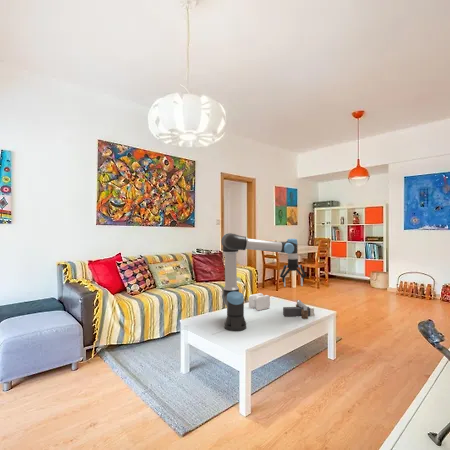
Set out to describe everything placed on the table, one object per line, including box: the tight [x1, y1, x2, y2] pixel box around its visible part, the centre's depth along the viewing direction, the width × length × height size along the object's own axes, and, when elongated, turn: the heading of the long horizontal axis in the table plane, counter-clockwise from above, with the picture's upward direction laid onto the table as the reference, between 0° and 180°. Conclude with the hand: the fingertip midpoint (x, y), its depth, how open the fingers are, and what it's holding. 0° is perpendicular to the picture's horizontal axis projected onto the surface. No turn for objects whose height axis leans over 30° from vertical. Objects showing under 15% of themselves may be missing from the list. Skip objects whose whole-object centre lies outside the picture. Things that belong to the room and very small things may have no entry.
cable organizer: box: [248, 292, 271, 311], centre depth 241 cm, size 15×11×12 cm
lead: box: [282, 306, 315, 318], centre depth 222 cm, size 23×5×6 cm, turn 93°
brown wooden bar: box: [295, 303, 309, 320], centre depth 222 cm, size 4×17×6 cm, turn 3°
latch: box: [296, 299, 308, 310], centre depth 222 cm, size 3×18×3 cm, turn 3°
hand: (293, 286), depth 220 cm, fingers open, 13 cm apart
